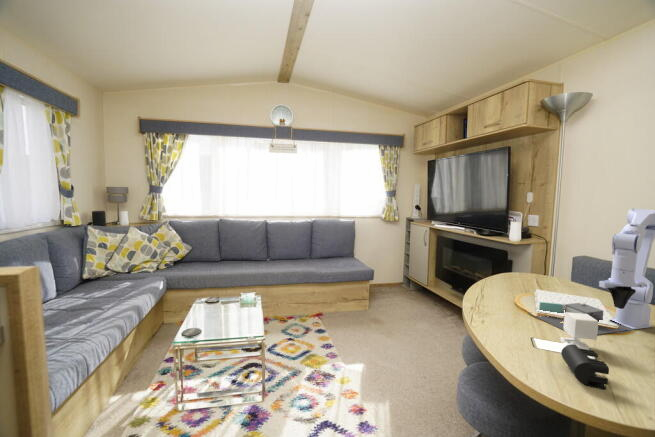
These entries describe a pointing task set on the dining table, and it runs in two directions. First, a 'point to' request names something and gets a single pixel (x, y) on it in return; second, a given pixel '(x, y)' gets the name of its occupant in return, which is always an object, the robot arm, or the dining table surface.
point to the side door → (552, 307)
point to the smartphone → (551, 346)
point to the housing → (584, 310)
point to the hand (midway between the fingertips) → (619, 307)
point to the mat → (556, 323)
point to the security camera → (579, 329)
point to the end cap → (585, 366)
